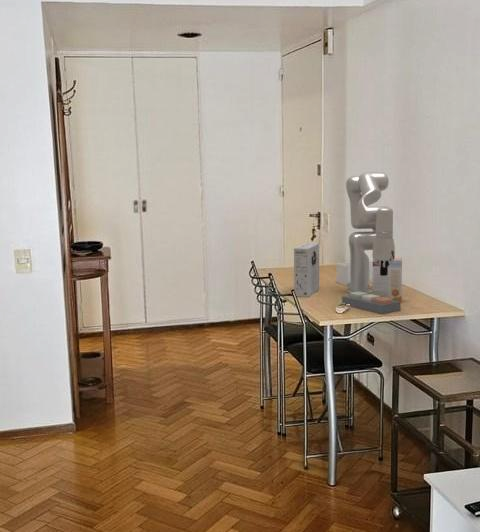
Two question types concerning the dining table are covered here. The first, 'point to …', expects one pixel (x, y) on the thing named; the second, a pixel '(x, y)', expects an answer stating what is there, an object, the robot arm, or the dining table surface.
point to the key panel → (371, 305)
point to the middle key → (370, 297)
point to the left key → (358, 294)
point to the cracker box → (388, 281)
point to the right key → (383, 300)
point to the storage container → (344, 272)
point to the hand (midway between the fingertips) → (383, 275)
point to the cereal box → (306, 269)
